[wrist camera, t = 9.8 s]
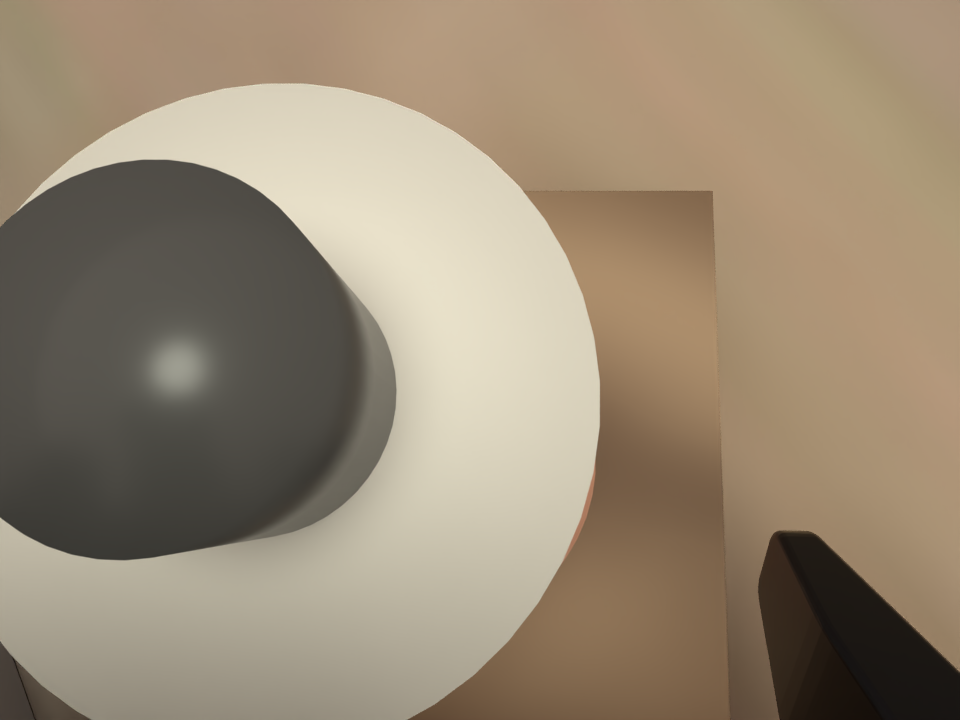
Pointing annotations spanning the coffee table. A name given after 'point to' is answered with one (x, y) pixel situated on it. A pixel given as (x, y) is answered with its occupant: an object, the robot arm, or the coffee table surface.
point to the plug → (283, 412)
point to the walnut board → (632, 486)
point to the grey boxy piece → (12, 690)
